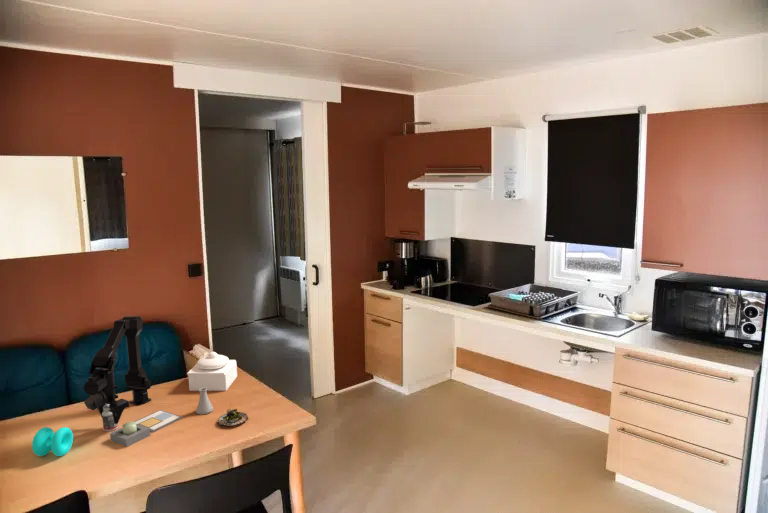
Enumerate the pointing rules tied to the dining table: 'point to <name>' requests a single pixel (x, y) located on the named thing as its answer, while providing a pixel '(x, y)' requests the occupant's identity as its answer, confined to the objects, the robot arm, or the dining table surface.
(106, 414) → the pill bottle
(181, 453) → the dining table surface
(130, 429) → the button
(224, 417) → the plate of food
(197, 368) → the butter dish
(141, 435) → the button housing
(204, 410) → the flask
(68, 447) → the donuts
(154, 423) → the colouring board
